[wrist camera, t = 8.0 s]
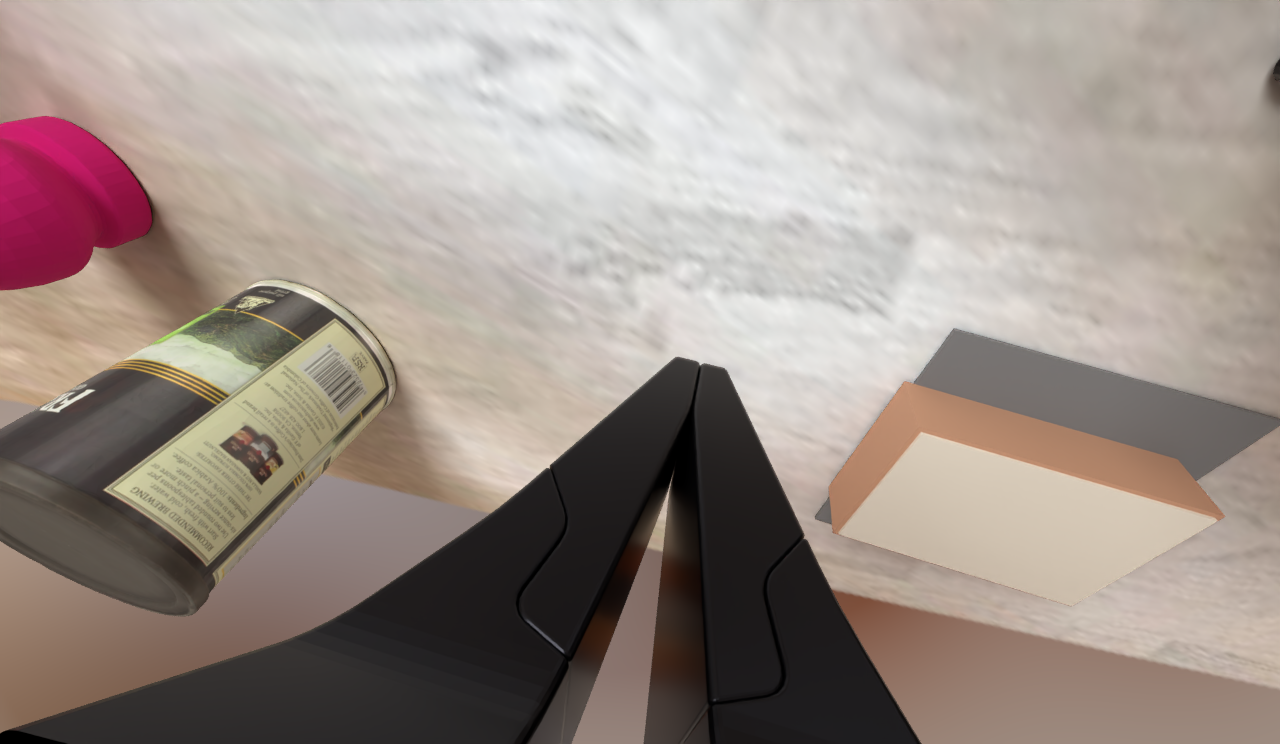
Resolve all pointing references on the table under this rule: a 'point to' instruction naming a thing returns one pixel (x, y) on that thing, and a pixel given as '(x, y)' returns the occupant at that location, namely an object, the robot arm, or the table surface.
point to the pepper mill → (61, 201)
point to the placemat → (1091, 402)
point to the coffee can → (190, 446)
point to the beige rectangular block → (1012, 496)
